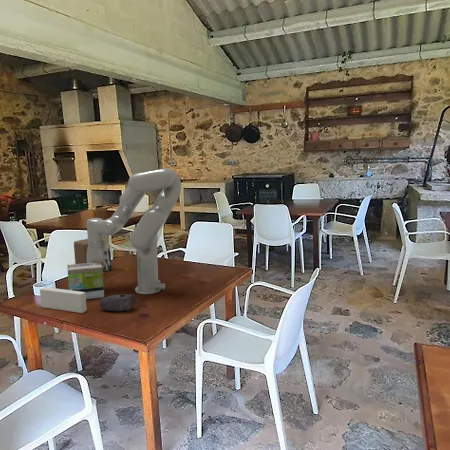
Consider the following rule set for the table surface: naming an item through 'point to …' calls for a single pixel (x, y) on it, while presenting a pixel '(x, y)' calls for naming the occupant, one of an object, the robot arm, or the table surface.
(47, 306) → the plank
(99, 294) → the tea box
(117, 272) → the table surface
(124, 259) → the table surface
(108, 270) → the soda can
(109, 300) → the perforated stone tool
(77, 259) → the wooden block
